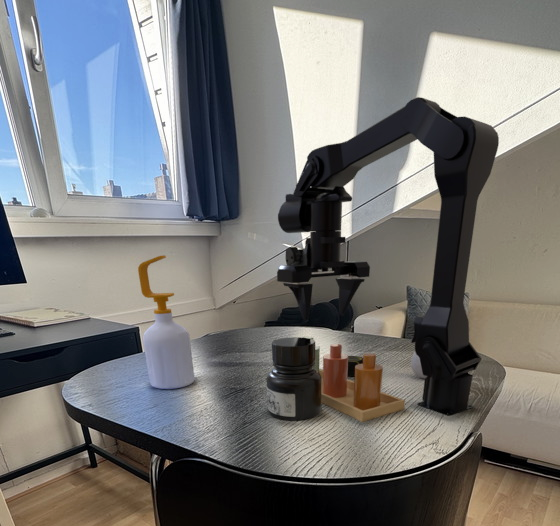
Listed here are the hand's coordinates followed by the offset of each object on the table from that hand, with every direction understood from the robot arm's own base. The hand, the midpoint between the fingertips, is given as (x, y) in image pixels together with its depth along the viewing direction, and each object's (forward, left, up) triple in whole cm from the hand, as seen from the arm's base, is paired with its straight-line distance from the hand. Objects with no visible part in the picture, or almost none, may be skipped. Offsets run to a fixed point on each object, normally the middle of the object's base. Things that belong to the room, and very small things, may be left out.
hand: (324, 317), depth 83 cm
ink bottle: (-15, +17, -12) cm, 25 cm away
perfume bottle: (-15, -17, -12) cm, 26 cm away
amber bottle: (-20, +6, -12) cm, 24 cm away
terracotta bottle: (-12, +6, -12) cm, 18 cm away
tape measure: (-2, -5, -12) cm, 13 cm away
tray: (-12, +6, -12) cm, 18 cm away
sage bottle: (-3, +6, -12) cm, 14 cm away
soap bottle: (+15, +28, -12) cm, 34 cm away
